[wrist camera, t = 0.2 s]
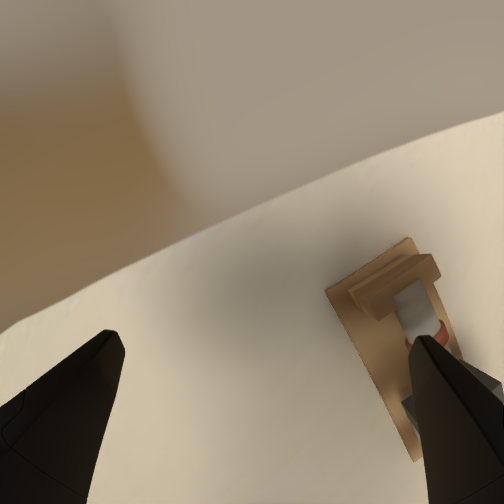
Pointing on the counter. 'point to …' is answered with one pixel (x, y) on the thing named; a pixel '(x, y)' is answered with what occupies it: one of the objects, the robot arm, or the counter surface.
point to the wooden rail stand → (393, 323)
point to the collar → (483, 377)
